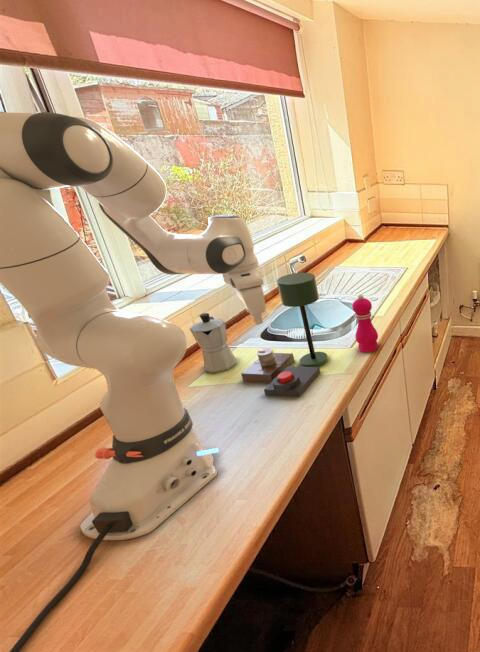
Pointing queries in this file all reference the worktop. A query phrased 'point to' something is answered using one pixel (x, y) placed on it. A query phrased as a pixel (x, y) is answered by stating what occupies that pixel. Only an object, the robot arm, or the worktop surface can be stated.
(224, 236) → the robot arm
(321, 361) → the desk lamp
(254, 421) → the worktop surface
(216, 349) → the coffee maker
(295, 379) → the switch block
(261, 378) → the dimmer panel
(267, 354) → the dimmer knob
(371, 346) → the pepper mill
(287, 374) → the lamp button
